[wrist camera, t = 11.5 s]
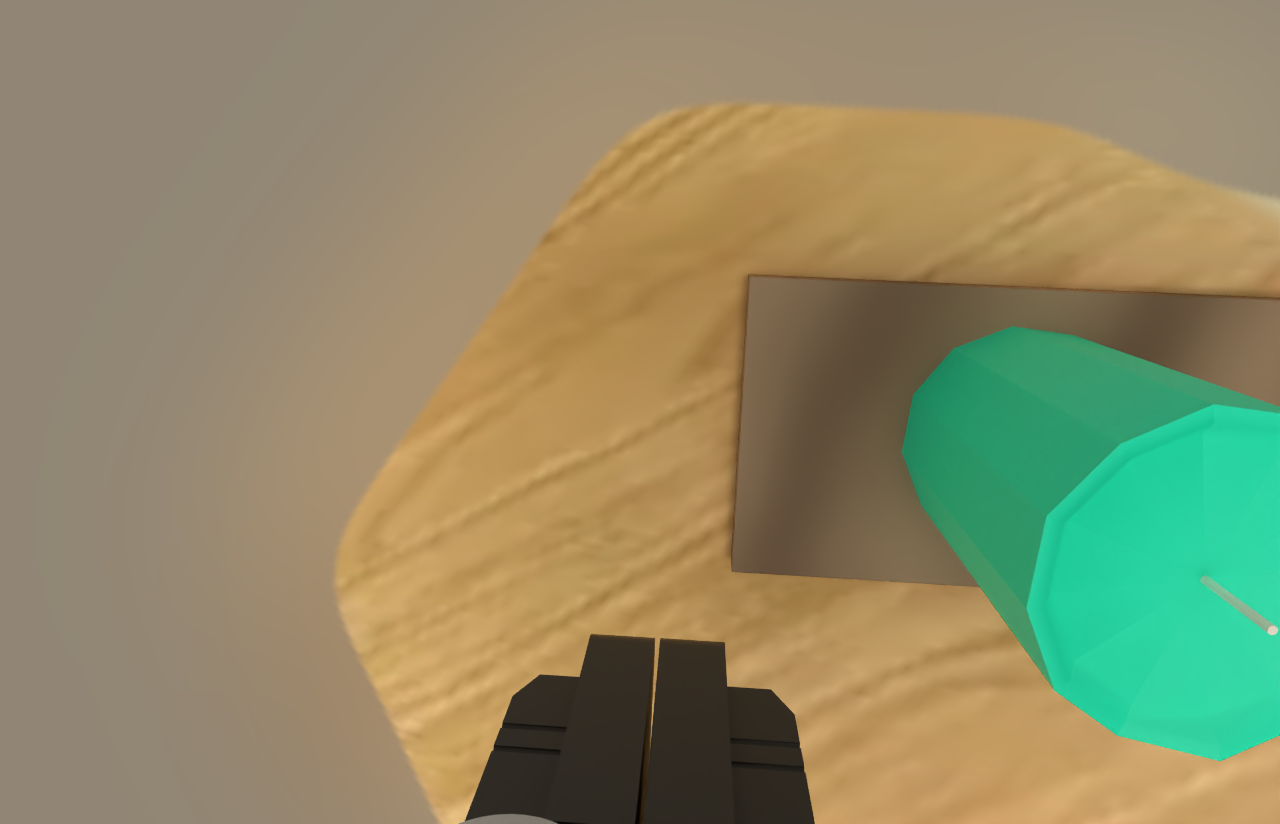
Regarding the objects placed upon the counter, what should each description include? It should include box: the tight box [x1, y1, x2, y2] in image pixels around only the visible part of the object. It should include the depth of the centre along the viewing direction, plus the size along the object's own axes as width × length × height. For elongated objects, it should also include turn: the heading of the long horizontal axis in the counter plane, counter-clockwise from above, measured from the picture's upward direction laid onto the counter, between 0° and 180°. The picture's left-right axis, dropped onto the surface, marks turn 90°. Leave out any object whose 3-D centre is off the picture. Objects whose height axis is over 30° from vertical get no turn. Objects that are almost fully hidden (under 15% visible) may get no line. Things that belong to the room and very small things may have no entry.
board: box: [731, 274, 1280, 587], centre depth 26 cm, size 20×8×1 cm, turn 88°
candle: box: [902, 326, 1280, 761], centre depth 20 cm, size 6×6×12 cm
